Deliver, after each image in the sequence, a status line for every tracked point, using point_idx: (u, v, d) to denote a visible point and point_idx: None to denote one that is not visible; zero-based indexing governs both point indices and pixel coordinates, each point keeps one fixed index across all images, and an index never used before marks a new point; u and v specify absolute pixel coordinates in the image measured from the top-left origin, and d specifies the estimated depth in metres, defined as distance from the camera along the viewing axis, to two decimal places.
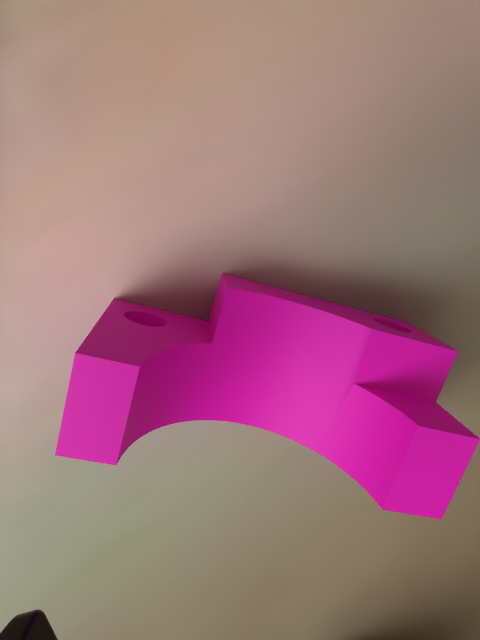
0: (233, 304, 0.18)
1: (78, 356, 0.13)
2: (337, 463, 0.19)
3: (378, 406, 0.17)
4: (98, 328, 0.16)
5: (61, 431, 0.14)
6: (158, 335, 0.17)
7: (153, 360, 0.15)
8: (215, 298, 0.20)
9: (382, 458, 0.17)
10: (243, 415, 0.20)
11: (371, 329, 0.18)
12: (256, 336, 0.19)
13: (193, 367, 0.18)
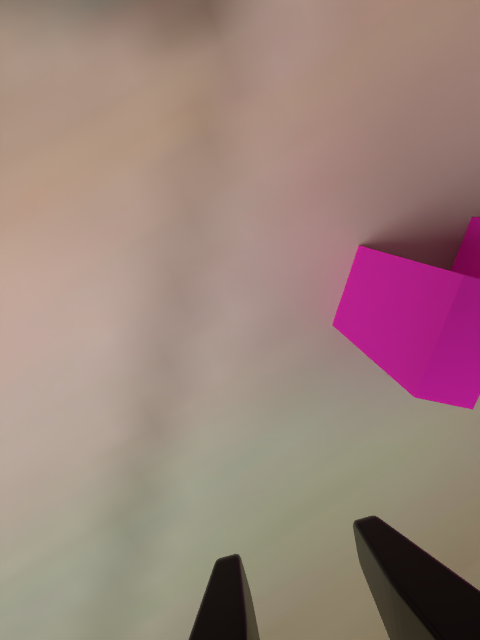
0: None
1: (466, 279, 0.11)
2: None
3: None
4: (418, 262, 0.14)
5: (426, 369, 0.12)
6: None
7: None
8: (465, 244, 0.19)
9: None
10: None
11: None
12: None
13: None
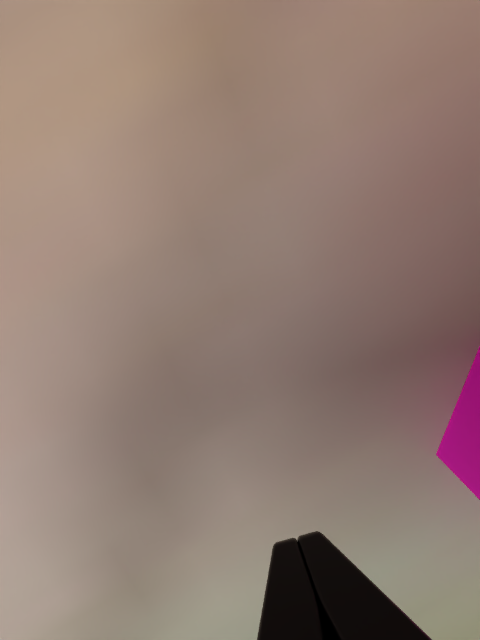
0: None
1: None
2: None
3: None
4: None
5: None
6: None
7: None
8: None
9: None
10: None
11: None
12: None
13: None
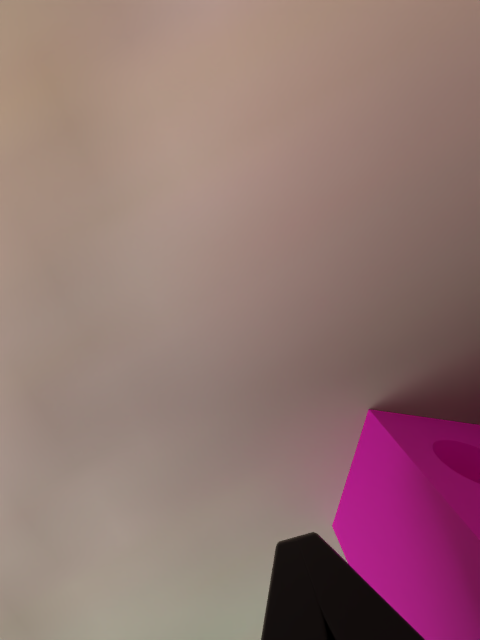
0: None
1: None
2: None
3: None
4: None
5: None
6: None
7: None
8: None
9: None
10: None
11: None
12: None
13: None
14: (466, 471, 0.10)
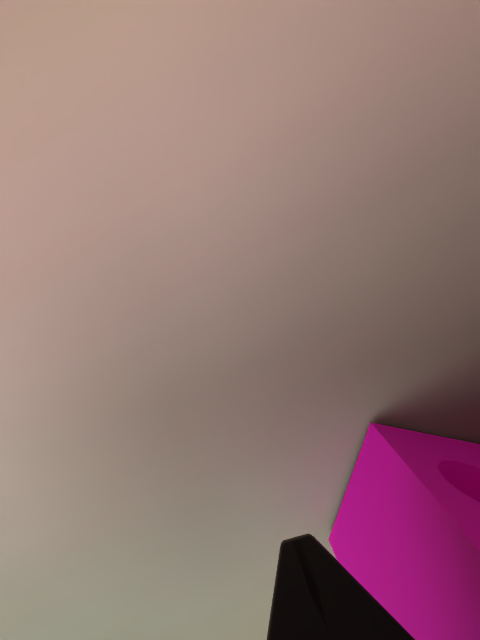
0: None
1: None
2: None
3: None
4: None
5: None
6: None
7: None
8: None
9: None
10: None
11: None
12: None
13: None
14: (470, 493, 0.10)
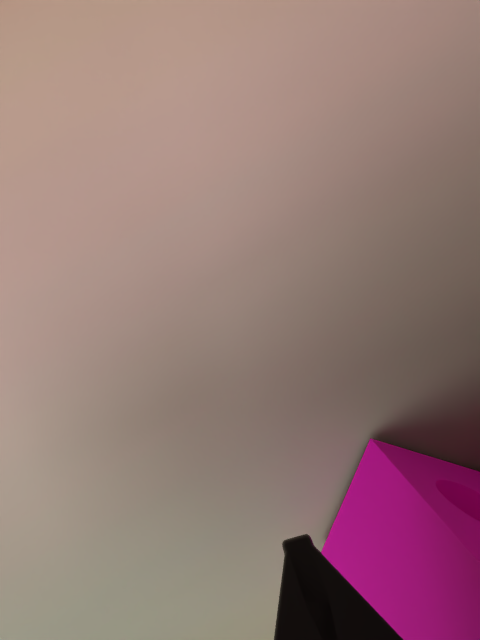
0: None
1: None
2: None
3: None
4: None
5: None
6: None
7: None
8: None
9: None
10: None
11: None
12: None
13: None
14: None
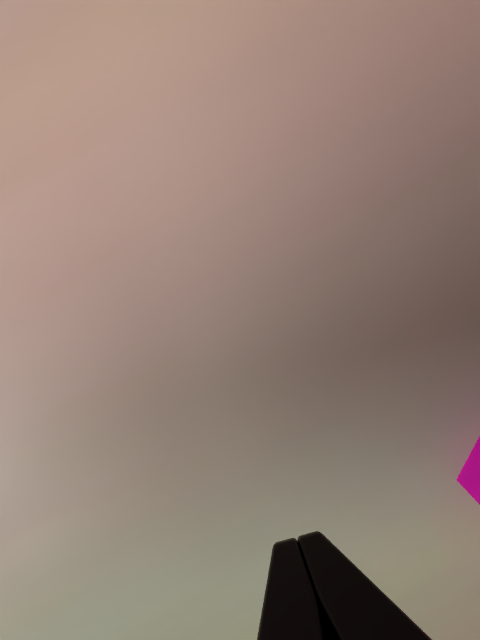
0: None
1: None
2: None
3: None
4: None
5: None
6: None
7: None
8: None
9: None
10: None
11: None
12: None
13: None
14: None
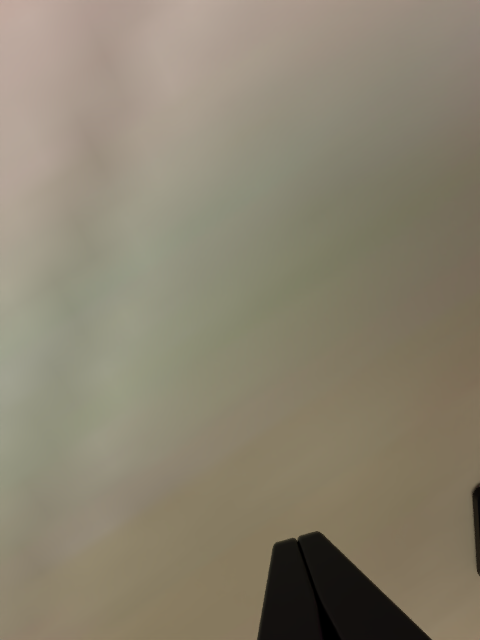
0: None
1: None
2: None
3: None
4: None
5: None
6: None
7: None
8: None
9: None
10: None
11: None
12: None
13: None
14: None
